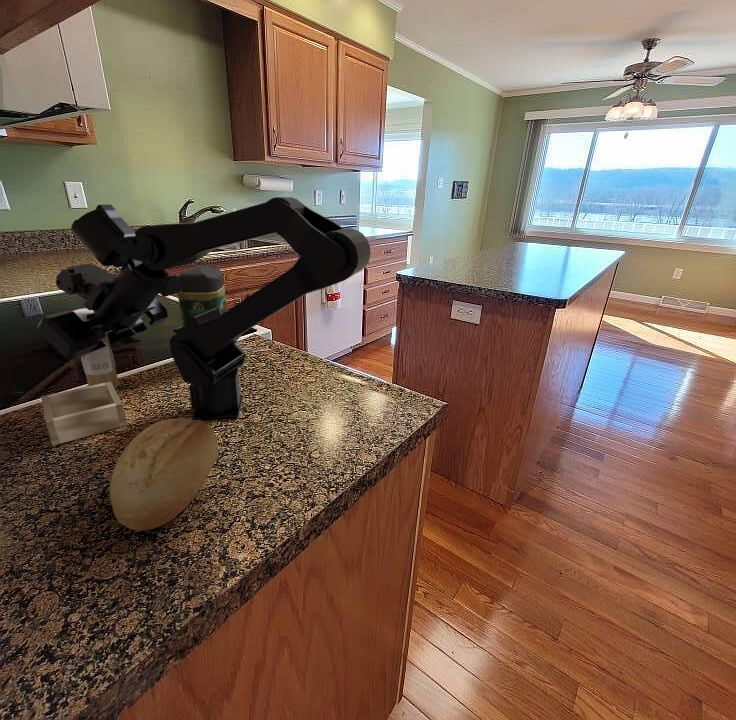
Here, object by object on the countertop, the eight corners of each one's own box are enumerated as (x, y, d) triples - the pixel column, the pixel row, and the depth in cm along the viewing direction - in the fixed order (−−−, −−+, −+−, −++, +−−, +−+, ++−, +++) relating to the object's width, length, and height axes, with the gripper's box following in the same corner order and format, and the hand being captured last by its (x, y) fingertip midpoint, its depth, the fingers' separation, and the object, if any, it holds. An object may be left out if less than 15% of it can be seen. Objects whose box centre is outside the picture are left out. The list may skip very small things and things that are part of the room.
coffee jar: (195, 351, 84) (184, 262, 76) (234, 351, 85) (227, 263, 77) (181, 370, 75) (167, 271, 68) (224, 370, 76) (215, 272, 69)
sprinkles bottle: (122, 380, 70) (106, 306, 64) (117, 392, 66) (99, 314, 61) (91, 383, 68) (73, 307, 63) (84, 395, 64) (63, 315, 59)
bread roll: (235, 450, 53) (229, 398, 50) (193, 541, 39) (182, 476, 36) (162, 448, 53) (152, 395, 50) (93, 539, 39) (73, 474, 36)
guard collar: (115, 401, 63) (110, 381, 62) (127, 425, 57) (122, 403, 56) (47, 417, 58) (40, 396, 56) (52, 445, 52) (45, 422, 50)
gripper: (141, 241, 66) (100, 299, 72) (27, 256, 49) (-13, 330, 55) (189, 293, 67) (144, 345, 74) (94, 324, 50) (47, 388, 57)
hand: (88, 350), depth 65 cm, fingers closed on sprinkles bottle, 4 cm apart
